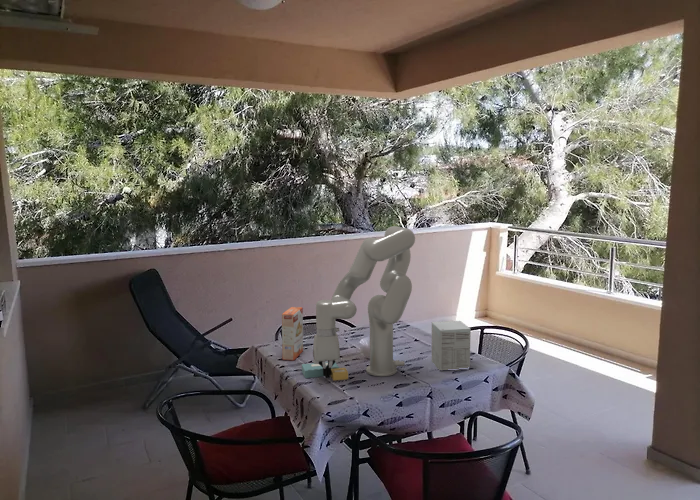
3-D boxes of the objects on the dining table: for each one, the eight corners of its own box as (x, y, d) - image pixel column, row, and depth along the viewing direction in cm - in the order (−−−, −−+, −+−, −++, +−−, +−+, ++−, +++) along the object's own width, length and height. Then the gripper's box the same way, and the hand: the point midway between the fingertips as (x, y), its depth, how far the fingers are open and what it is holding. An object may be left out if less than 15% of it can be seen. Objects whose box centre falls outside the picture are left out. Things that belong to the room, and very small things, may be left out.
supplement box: (470, 370, 222) (471, 328, 219) (439, 371, 220) (439, 330, 218) (460, 359, 235) (460, 320, 233) (430, 361, 233) (431, 321, 231)
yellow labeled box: (345, 374, 218) (345, 367, 217) (348, 379, 213) (348, 371, 213) (330, 376, 216) (330, 368, 216) (333, 380, 212) (333, 373, 211)
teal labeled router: (335, 368, 226) (334, 360, 225) (339, 374, 218) (339, 367, 218) (301, 371, 222) (301, 364, 222) (305, 378, 215) (304, 370, 214)
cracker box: (295, 361, 235) (293, 314, 232) (281, 360, 236) (280, 313, 234) (304, 351, 249) (303, 306, 246) (291, 350, 250) (290, 306, 247)
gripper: (342, 327, 216) (343, 371, 219) (305, 330, 213) (306, 375, 215) (347, 332, 209) (347, 378, 212) (308, 336, 206) (310, 382, 208)
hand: (327, 376), depth 213 cm, fingers closed
